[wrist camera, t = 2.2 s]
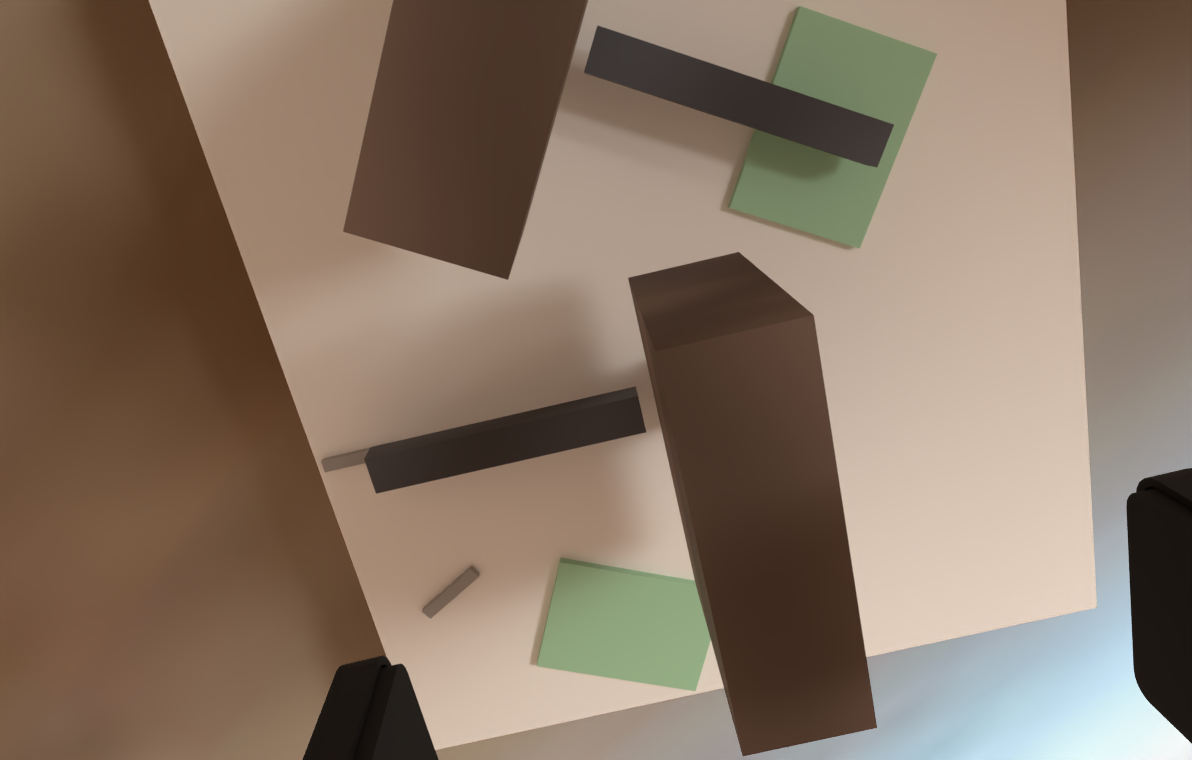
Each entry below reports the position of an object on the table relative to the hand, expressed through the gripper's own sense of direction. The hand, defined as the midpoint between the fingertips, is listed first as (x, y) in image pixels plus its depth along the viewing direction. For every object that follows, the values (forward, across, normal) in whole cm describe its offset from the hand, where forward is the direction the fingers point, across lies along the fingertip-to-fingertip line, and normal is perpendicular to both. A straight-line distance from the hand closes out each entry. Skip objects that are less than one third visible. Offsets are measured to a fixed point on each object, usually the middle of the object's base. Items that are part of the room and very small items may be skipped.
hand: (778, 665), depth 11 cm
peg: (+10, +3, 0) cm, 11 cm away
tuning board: (+14, -1, -2) cm, 14 cm away
